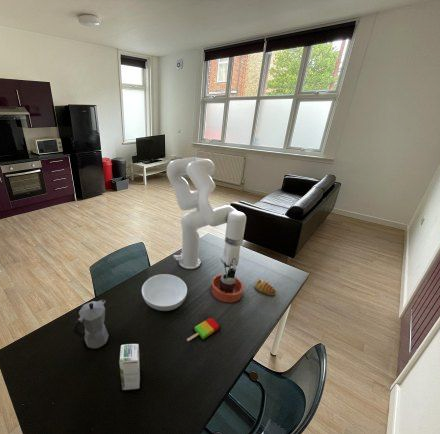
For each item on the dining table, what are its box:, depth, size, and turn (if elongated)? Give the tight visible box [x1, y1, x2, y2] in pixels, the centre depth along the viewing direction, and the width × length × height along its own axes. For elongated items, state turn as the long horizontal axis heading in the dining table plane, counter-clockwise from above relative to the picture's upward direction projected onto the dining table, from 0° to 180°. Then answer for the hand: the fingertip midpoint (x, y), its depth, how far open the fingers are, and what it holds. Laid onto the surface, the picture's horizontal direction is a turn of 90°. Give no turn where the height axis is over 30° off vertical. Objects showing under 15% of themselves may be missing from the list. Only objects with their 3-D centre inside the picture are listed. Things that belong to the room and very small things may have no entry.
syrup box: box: [119, 343, 141, 391], centre depth 76 cm, size 6×6×14 cm
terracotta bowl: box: [210, 273, 244, 304], centre depth 116 cm, size 15×15×5 cm
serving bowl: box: [141, 273, 188, 312], centre depth 111 cm, size 21×21×7 cm
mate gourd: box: [220, 259, 235, 293], centre depth 114 cm, size 8×8×15 cm
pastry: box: [254, 278, 277, 296], centre depth 117 cm, size 9×7×4 cm
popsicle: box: [186, 317, 220, 342], centre depth 96 cm, size 6×15×2 cm, turn 123°
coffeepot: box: [71, 299, 110, 349], centre depth 89 cm, size 15×9×18 cm, turn 147°
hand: (229, 271), depth 112 cm, fingers open, 7 cm apart
